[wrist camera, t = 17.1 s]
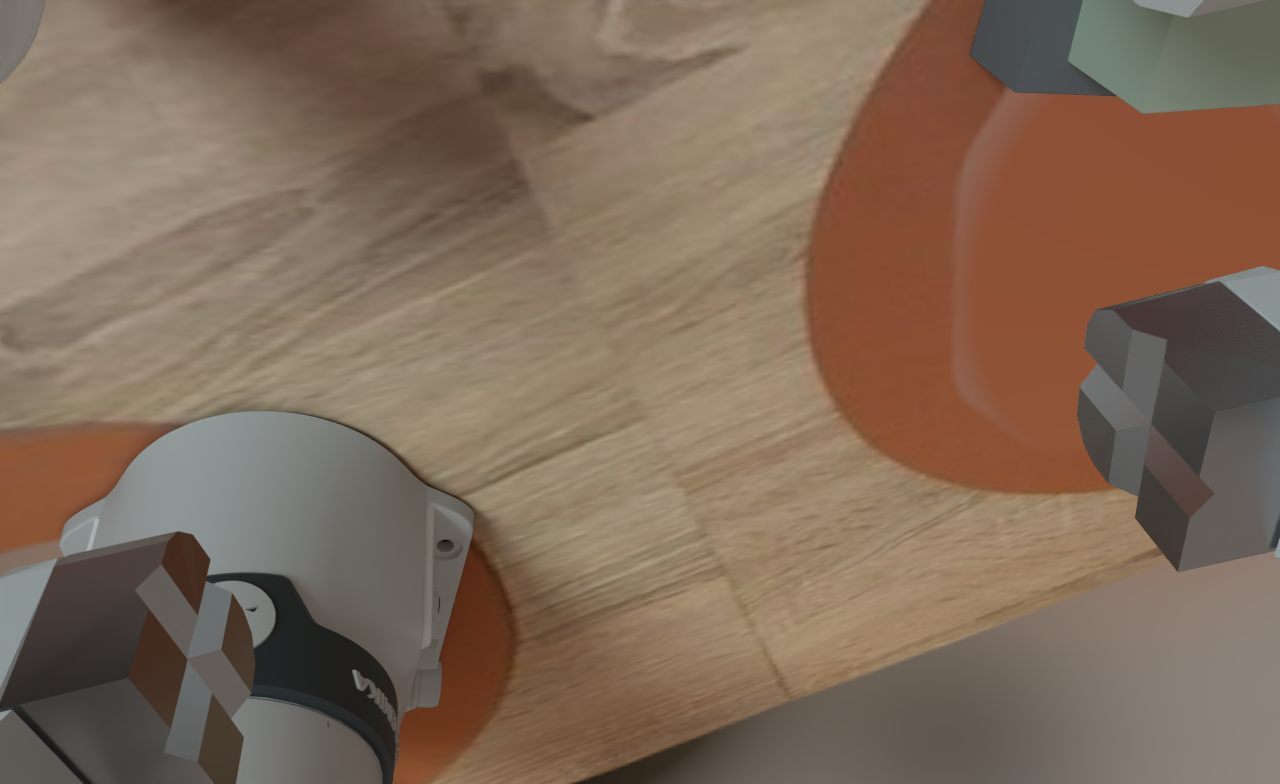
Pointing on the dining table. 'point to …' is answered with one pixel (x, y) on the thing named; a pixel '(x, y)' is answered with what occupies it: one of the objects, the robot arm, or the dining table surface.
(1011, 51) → the charcoal block
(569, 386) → the dining table surface
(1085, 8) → the green cube
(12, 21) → the coffee cup
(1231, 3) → the heart sculpture
